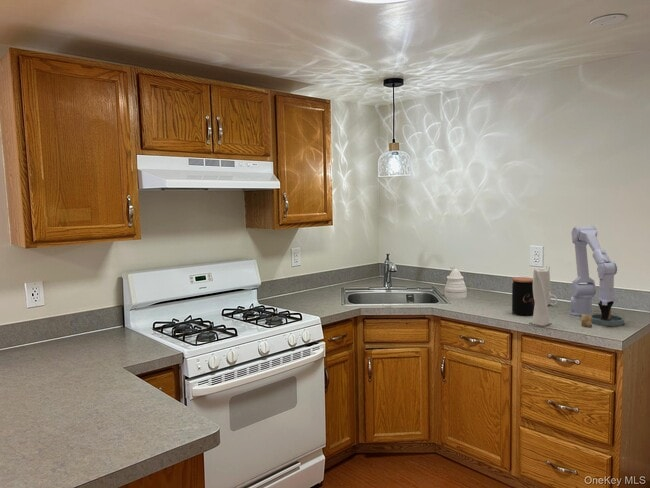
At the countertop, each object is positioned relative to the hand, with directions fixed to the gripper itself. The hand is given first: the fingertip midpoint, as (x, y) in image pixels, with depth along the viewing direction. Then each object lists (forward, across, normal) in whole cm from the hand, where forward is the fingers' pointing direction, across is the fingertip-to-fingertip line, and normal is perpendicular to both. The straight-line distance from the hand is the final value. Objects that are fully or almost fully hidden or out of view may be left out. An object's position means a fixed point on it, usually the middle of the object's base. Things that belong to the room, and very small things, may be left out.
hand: (605, 317), depth 231 cm
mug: (+3, +29, +31) cm, 42 cm away
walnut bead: (+1, 0, 0) cm, 1 cm away
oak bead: (+3, -7, +7) cm, 11 cm away
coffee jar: (+3, +4, +37) cm, 37 cm away
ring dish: (+3, +4, 0) cm, 5 cm away
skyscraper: (+3, -14, +25) cm, 29 cm away
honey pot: (+3, +31, +82) cm, 88 cm away
